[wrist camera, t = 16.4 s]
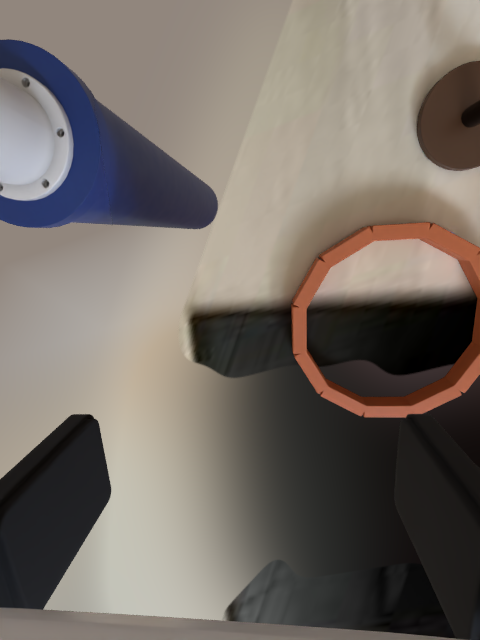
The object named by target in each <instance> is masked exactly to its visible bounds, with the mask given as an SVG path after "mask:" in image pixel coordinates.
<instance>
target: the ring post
mask: <svg viewBox="0 0 480 640" xmlns="http://www.w3.org/2000/svg"><path fill="white" fill-rule="evenodd" d="M417 133H418V139H419V143H420V146H421V148H422V150H423V152H424V154H425V155H426V156H427V157H428V159H429V160H431V161H432V162H433V163H434V164H436V165H437V166H439V167H442V168H444V169H448V170H454V171H462V170H468V169H472V168H475V167H478V166H480V61H474V62H469V63H466V64H463V65H461V66H459V67H457V68H455V69H453V70H452V71H450V72H449V73H448V74H446V75H445V76H444V77H443V78H442V79H440V80H439V81H438V82H437V83H436V84H435V85H434V87H433V88H432V89H431V90H430V92H429V93H428V95H427V96H426V98H425V100H424V102H423V104H422V106H421V109H420V112H419V116H418V123H417Z"/></svg>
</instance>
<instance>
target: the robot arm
mask: <svg viewBox="0 0 480 640" xmlns="http://www.w3.org/2000/svg"><path fill="white" fill-rule="evenodd" d="M73 147H74V143H73V135H72V129H71V126H70V123H69V119H68V117H67V115H66V113H65V111H64V109H63V107H62V105H61V104H60V102H59V101H58V99H57V98H56V96H55V95H54V94H53V93H52V92H51V91H50V90H49V89H48V88H47V87H46V86H44V85H43V84H42V83H40V82H39V81H37V80H36V79H34V78H33V77H31V76H30V75H28V74H26V73H23V72H20V71H17V70H14V69H6V68H1V69H0V195H1V196H4V197H6V198H10V199H14V200H22V201H33V200H38V199H42V198H45V197H47V196H48V195H50V194H52V193H53V192H54V191H56V190H57V189H58V188H59V187H60V186H61V184H62V183H63V182H64V180H65V179H66V177H67V175H68V172H69V170H70V168H71V164H72V159H73ZM110 495H111V485H110V480H109V475H108V469H107V464H106V459H105V454H104V449H103V443H102V438H101V433H100V428H99V423H98V421H97V420H96V419H94V417H93V416H92V415H90V414H85V415H84V414H83V415H82V414H80V415H79V414H76V415H75V414H74V415H71V416H70V417H68V418H67V419H66V420H65V421H64V422H63V423H62V424H61V425H60V426H59V427H58V428H56V429H55V430H54V431H53V432H52V433H51V434H50V435H49V436H48V437H46V438H45V439H44V440H43V441H42V442H41V443H40V444H39V445H38V446H36V447H35V448H34V449H33V450H32V451H31V452H30V453H29V454H28V455H27V456H26V457H24V458H23V459H22V460H21V461H20V462H19V463H18V464H17V465H16V466H15V467H14V468H12V469H11V470H10V471H9V472H8V473H7V474H6V475H5V476H4V477H3V478H1V479H0V640H480V468H479V467H478V466H477V465H476V464H474V463H473V462H472V461H471V459H470V458H469V457H468V456H467V455H466V454H465V453H464V451H463V450H462V449H461V448H460V447H459V446H458V445H457V444H456V443H455V441H454V440H453V439H452V438H451V437H450V436H449V434H448V433H447V432H446V431H445V430H444V429H443V428H442V427H441V426H440V424H439V423H438V422H437V421H436V420H435V419H434V418H433V416H432V415H430V414H408V415H407V416H406V419H401V421H400V427H399V440H398V453H397V465H396V479H395V492H394V498H395V504H396V508H397V510H398V512H399V514H400V517H401V519H402V521H403V523H404V526H405V528H406V530H407V532H408V534H409V536H410V539H411V541H412V543H413V545H414V547H415V550H416V552H417V554H418V556H419V558H420V560H421V563H422V565H423V567H424V569H425V571H426V574H427V576H428V578H429V580H430V582H431V585H432V587H433V589H434V591H435V593H436V595H437V598H438V600H439V602H440V604H441V606H442V609H443V611H444V613H445V615H446V617H447V619H448V622H449V624H450V626H451V628H452V630H453V633H454V635H455V637H456V639H453V638H443V637H432V636H421V635H410V634H399V633H388V632H374V631H361V630H347V629H333V628H319V627H305V626H291V625H277V624H263V623H248V622H233V621H218V620H203V619H188V618H187V619H186V618H172V617H157V616H141V615H126V614H108V613H92V612H90V613H89V612H74V611H57V610H43V608H44V607H45V605H46V603H47V601H48V600H49V599H50V597H51V595H52V594H53V592H54V590H55V589H56V587H57V585H58V584H59V582H60V580H61V579H62V577H63V575H64V574H65V572H66V570H67V569H68V567H69V566H70V564H71V562H72V561H73V559H74V557H75V556H76V554H77V552H78V551H79V549H80V547H81V546H82V544H83V542H84V541H85V539H86V537H87V536H88V534H89V533H90V531H91V529H92V527H93V526H94V524H95V523H96V521H97V519H98V518H99V516H100V514H101V513H102V511H103V509H104V507H105V506H106V504H107V503H108V501H109V498H110Z"/></svg>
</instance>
